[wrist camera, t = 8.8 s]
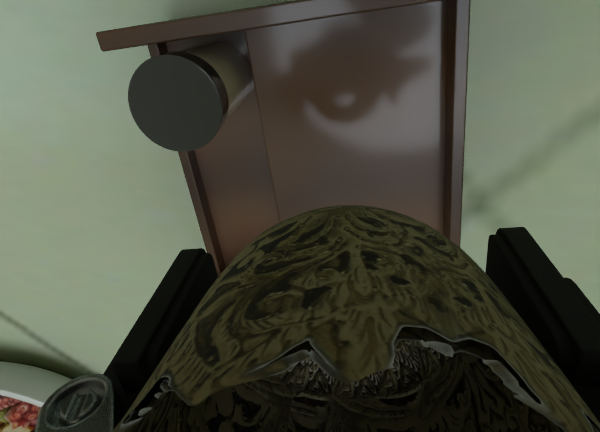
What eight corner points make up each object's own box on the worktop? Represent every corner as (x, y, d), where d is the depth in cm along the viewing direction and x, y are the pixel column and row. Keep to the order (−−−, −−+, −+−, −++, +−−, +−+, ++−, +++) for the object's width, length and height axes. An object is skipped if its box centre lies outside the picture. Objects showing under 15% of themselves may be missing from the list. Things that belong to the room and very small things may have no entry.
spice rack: (169, 20, 26) (94, 32, 18) (433, -22, 24) (479, -29, 16) (230, 255, 34) (196, 334, 26) (432, 241, 32) (461, 323, 24)
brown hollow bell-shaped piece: (209, 309, 14) (77, 623, 7) (250, 96, 11) (68, 303, 4) (419, 364, 14) (490, 716, 7) (527, 173, 11) (857, 504, 4)
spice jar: (174, 43, 24) (113, 61, 18) (245, 32, 23) (209, 48, 17) (193, 116, 26) (144, 156, 19) (259, 107, 25) (231, 146, 19)
